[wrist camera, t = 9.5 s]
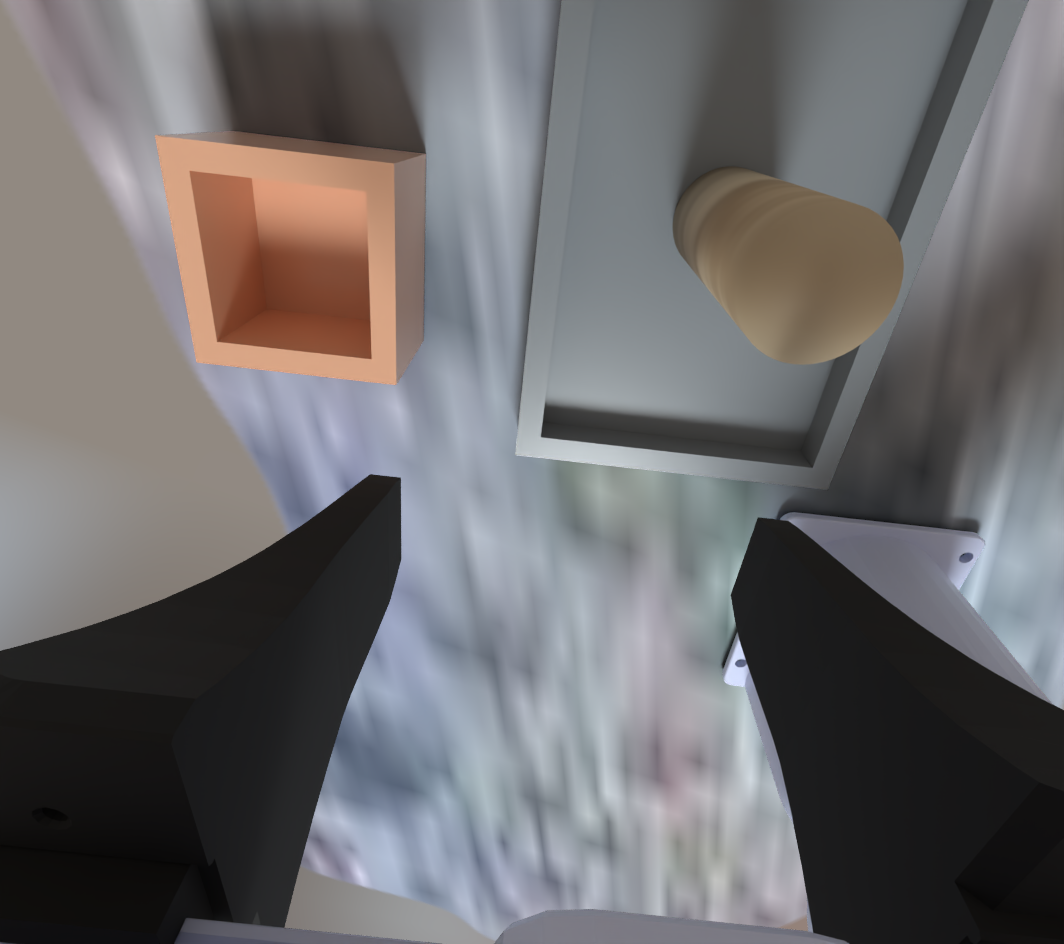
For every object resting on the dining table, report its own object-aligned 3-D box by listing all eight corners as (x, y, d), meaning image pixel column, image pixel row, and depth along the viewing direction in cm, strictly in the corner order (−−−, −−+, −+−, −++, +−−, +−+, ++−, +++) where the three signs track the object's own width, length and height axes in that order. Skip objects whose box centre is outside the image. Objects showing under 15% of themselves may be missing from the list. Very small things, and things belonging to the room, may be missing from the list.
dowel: (758, 278, 19) (867, 372, 12) (663, 267, 19) (719, 355, 12) (788, 172, 18) (931, 212, 11) (685, 160, 18) (762, 192, 11)
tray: (810, 464, 23) (827, 490, 22) (518, 432, 23) (515, 455, 21) (1026, -102, 15) (1080, -127, 13) (578, -158, 15) (580, -190, 13)
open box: (423, 340, 21) (396, 384, 18) (256, 321, 21) (196, 362, 18) (425, 153, 18) (394, 163, 15) (231, 130, 18) (154, 135, 15)
